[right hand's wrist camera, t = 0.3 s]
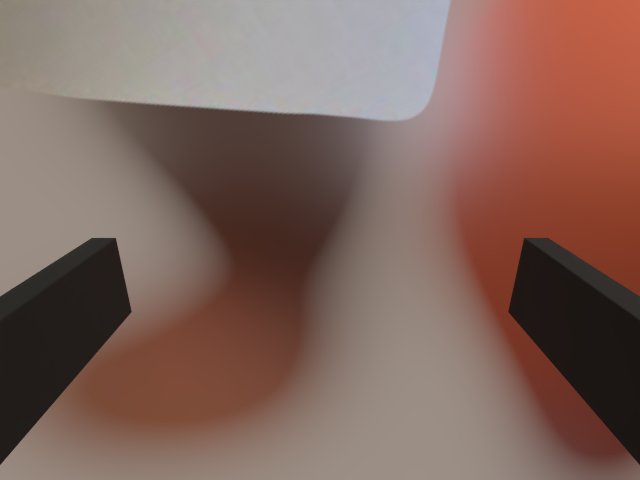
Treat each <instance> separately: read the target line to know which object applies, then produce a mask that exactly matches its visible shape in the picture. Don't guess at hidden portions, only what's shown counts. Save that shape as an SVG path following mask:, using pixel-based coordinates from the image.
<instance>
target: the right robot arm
mask: <svg viewBox="0 0 640 480" xmlns="http://www.w3.org/2000/svg"><path fill="white" fill-rule="evenodd" d="M130 313H131V307H130V303H129V298H128V293H127V288H126V284H125V279H124V274H123V270H122V265H121V260H120V256H119V251H118V246H117V242H116V238H91V239H90V240H88V241H87V242H85V243H83V244H82V245H80V246H79V247H77V248H76V249H74V250H73V251H71V252H69V253H68V254H66V255H65V256H63V257H61V258H60V259H58V260H57V261H55V262H54V263H52V264H51V265H49V266H47V267H46V268H44V269H43V270H41V271H40V272H38V273H36V274H35V275H33V276H32V277H30V278H29V279H27V280H25V281H24V282H22V283H21V284H19V285H18V286H16V287H14V288H13V289H11V290H10V291H8V292H7V293H5V294H4V295H2V296H0V464H1V463H2V462H3V461H4V460H5V459H6V457H7V456H8V455H9V454H10V453H11V452H12V451H13V449H14V448H15V447H16V446H17V445H18V444H19V442H20V441H21V440H22V439H23V438H24V437H25V435H26V434H27V433H28V432H29V431H30V430H31V428H32V427H33V426H34V425H35V424H36V423H37V421H38V420H39V419H40V418H41V417H42V416H43V414H44V413H45V412H46V411H47V410H48V409H49V407H50V406H51V405H52V404H53V403H54V402H55V400H56V399H57V398H58V397H59V396H60V395H61V393H62V392H63V391H64V390H65V389H66V388H67V386H68V385H69V384H70V383H71V382H72V381H73V379H74V378H75V377H76V376H77V375H78V374H79V373H80V371H81V370H82V369H83V368H84V367H85V365H86V364H87V363H88V362H89V361H90V360H91V359H92V357H93V356H94V355H95V354H96V353H97V352H98V350H99V349H100V348H101V347H102V346H103V345H104V343H105V342H106V341H107V340H108V339H109V338H110V336H111V335H112V334H113V333H114V332H115V331H116V329H117V328H118V327H119V326H120V325H121V324H122V322H123V321H124V320H125V319H126V318H127V317H128V315H129V314H130ZM509 313H510V314H511V315H512V317H513V318H514V319H515V320H516V321H517V322H518V324H519V325H520V326H521V327H522V328H523V329H524V331H525V332H526V333H527V334H528V335H529V336H530V338H531V339H532V340H533V341H534V342H535V343H536V345H537V346H538V347H539V348H540V349H541V350H542V352H543V353H544V354H545V355H546V356H547V357H548V359H549V360H550V361H551V362H552V363H553V364H554V366H555V367H556V368H557V369H558V370H559V371H560V372H561V374H562V375H563V376H564V377H565V378H566V380H567V381H568V382H569V383H570V384H571V385H572V386H573V388H574V389H575V390H576V391H577V392H578V393H579V395H580V396H581V397H582V398H583V399H584V400H585V402H586V403H587V404H588V405H589V406H590V407H591V409H592V410H593V411H594V412H595V413H596V414H597V416H598V417H599V418H600V419H601V420H602V421H603V423H604V424H605V425H606V426H607V427H608V428H609V430H610V431H611V432H612V433H613V434H614V435H615V437H616V438H617V439H618V440H619V441H620V442H621V444H622V445H623V446H624V447H625V448H626V449H627V451H628V452H629V453H630V454H631V455H632V456H633V457H634V459H635V460H636V461H637V462H638V463H639V464H640V296H638V295H636V294H635V293H633V292H632V291H630V290H629V289H627V288H626V287H624V286H622V285H621V284H619V283H618V282H616V281H614V280H613V279H611V278H610V277H608V276H607V275H605V274H604V273H602V272H600V271H599V270H597V269H596V268H594V267H593V266H591V265H589V264H588V263H586V262H585V261H583V260H582V259H580V258H578V257H577V256H575V255H574V254H572V253H571V252H569V251H568V250H566V249H564V248H563V247H561V246H560V245H558V244H557V243H555V242H553V241H552V240H550V239H549V238H524V242H523V246H522V251H521V256H520V260H519V265H518V270H517V274H516V279H515V284H514V288H513V293H512V298H511V302H510V307H509Z"/></svg>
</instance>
